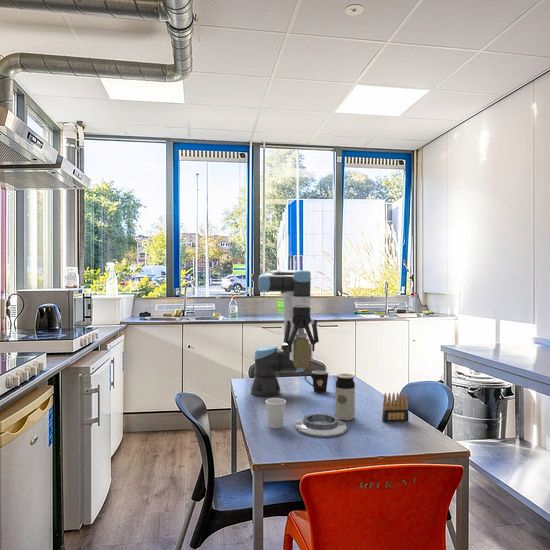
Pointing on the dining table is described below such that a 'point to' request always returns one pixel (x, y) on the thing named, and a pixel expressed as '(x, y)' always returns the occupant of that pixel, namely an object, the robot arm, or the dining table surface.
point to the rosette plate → (320, 432)
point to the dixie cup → (275, 412)
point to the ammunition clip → (395, 409)
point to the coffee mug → (319, 381)
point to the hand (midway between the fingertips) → (301, 359)
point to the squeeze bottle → (301, 350)
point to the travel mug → (345, 397)
